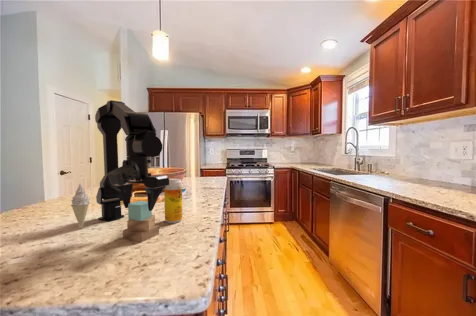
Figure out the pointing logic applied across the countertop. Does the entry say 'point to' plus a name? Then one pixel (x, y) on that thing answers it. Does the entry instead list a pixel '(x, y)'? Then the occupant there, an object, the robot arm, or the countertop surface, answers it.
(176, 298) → the countertop surface
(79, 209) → the ice cream cone
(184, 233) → the countertop surface
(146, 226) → the slab upper
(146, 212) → the teal cube
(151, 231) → the slab lower
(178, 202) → the beer can
